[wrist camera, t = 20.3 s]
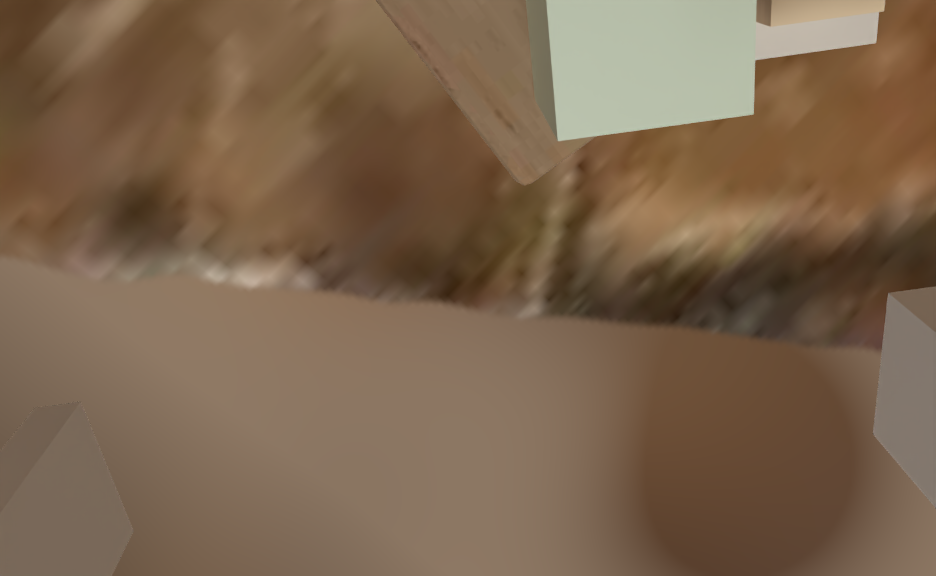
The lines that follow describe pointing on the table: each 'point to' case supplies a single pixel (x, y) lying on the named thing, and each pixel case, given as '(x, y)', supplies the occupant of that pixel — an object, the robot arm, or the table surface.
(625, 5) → the sage cube
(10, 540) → the robot arm
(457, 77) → the wooden block
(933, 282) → the table surface
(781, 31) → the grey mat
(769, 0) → the maple cube
